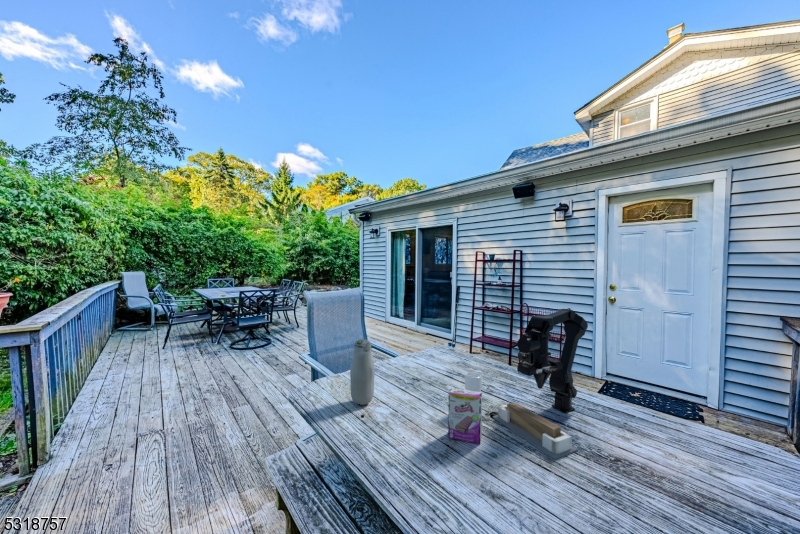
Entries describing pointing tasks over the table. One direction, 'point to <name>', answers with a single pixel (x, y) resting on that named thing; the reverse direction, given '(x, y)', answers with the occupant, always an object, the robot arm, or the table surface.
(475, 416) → the candy bar box
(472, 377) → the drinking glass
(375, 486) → the table surface
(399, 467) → the table surface
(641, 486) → the table surface
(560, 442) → the end cap frame
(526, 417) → the wooden block
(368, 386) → the grey bottle
